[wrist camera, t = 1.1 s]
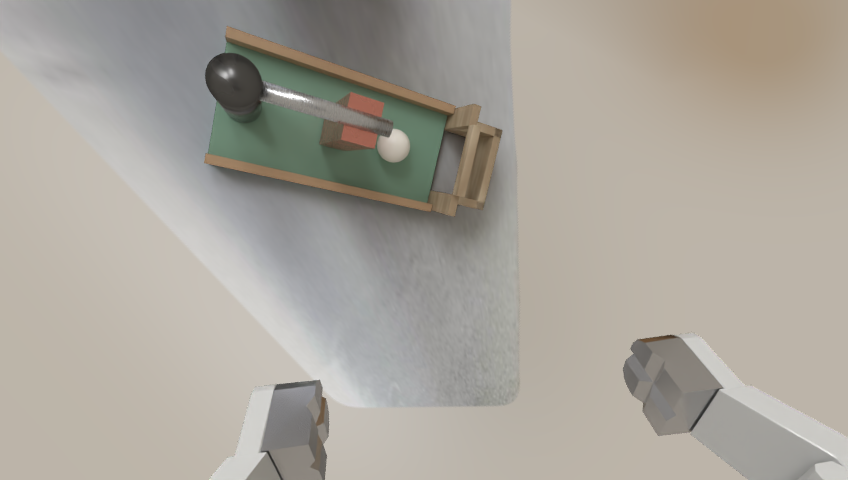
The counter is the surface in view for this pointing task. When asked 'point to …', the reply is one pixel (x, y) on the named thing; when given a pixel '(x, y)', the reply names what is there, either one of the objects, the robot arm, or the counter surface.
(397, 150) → the ball
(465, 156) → the wooden frame
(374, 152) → the tray
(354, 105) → the pillars with crossbar
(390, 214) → the counter surface
